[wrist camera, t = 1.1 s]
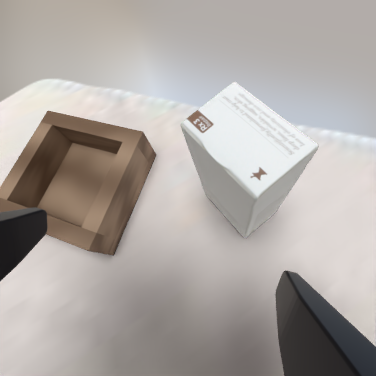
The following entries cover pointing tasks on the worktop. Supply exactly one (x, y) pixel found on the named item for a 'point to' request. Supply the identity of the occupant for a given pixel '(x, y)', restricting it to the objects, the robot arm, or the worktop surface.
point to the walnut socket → (80, 179)
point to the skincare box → (245, 156)
